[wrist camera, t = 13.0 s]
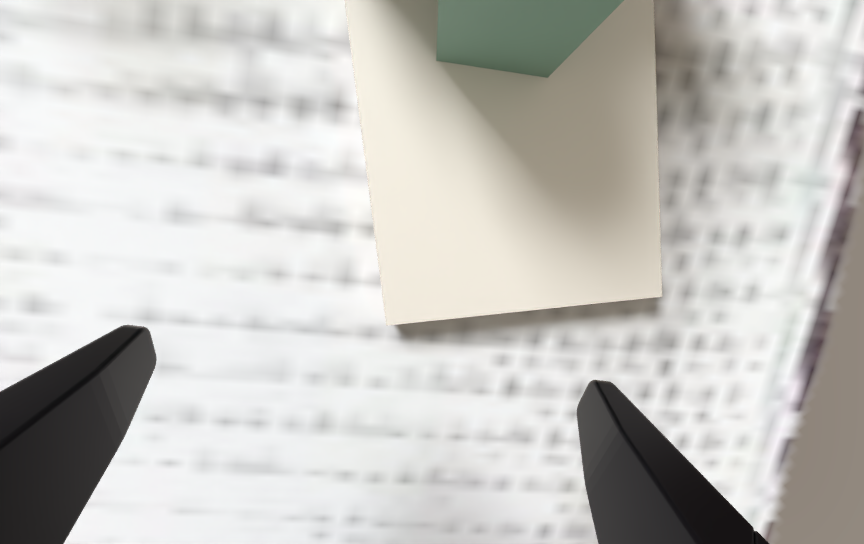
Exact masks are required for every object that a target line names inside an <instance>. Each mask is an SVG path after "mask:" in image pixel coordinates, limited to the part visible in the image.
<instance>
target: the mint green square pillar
mask: <svg viewBox="0 0 864 544" xmlns="http://www.w3.org/2000/svg"><path fill="white" fill-rule="evenodd" d="M623 1H624V0H438V24H437V56H436V61H441V62H448V63H454V64H461V65H467V66H474V67H480V68H487V69H493V70H500V71H506V72H513V73H519V74H526V75H532V76H539V77H545V78H548V77H549V76H550V75H551V74H552V73H553V72H554V71H555V70H556V69H557V68H558V67H559V66H560V65H561V64H562V63H563V62H564V61H565V60H566V59H567V58H568V57H569V56H570V55H571V54H572V53H573V52H574V51H575V50H576V49H577V48H578V47H579V46H580V44H581V43H582V42H583V41H584V40H585V39H586V38H587V37H588V36H589V35H590V34H591V33H592V32H593V31H594V30H595V29H596V28H597V27H598V26H599V25H600V24H601V23H602V22H603V21H604V20H605V19H606V18H607V17H608V16H609V15H610V14H611V13H612V12H613V11H614V10H615V9H616V8H617V7H618V6H619V5H620V4H621V3H622V2H623Z"/></svg>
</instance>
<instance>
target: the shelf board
mask: <svg viewBox="0 0 864 544" xmlns="http://www.w3.org/2000/svg"><path fill="white" fill-rule="evenodd" d="M345 8H346V16H347V23H348V31H349V39H350V47H351V54H352V62H353V70H354V78H355V86H356V93H357V101H358V109H359V117H360V124H361V132H362V140H363V148H364V155H365V163H366V171H367V179H368V186H369V194H370V202H371V210H372V217H373V225H374V233H375V241H376V249H377V256H378V264H379V272H380V280H381V287H382V295H383V303H384V311H385V318H386V326H388V325H398V324H407V323H417V322H426V321H436V320H445V319H455V318H464V317H474V316H483V315H493V314H502V313H512V312H521V311H531V310H540V309H550V308H559V307H569V306H578V305H588V304H597V303H607V302H616V301H626V300H635V299H645V298H654V297H662V274H661V238H660V202H659V167H658V131H657V95H656V60H655V24H654V0H624V1H623V2H622V3H621V4H620V5H619V6H618V7H617V8H616V9H615V10H614V11H613V12H612V13H611V14H610V15H609V16H608V17H607V18H606V19H605V20H604V21H603V22H602V23H601V24H600V25H599V26H598V27H597V28H596V29H595V30H594V31H593V32H592V33H591V34H590V35H589V36H588V37H587V38H586V39H585V40H584V41H583V42H582V43H581V44H580V46H579V47H578V48H577V49H576V50H575V51H574V52H573V53H572V54H571V55H570V56H569V57H568V58H567V59H566V60H565V61H564V62H563V63H562V64H561V65H560V66H559V67H558V68H557V69H556V70H555V71H554V72H553V73H552V74H551V75H550V76H549V77H548V78H545V77H539V76H532V75H526V74H519V73H513V72H506V71H500V70H493V69H487V68H480V67H474V66H467V65H461V64H454V63H448V62H441V61H436V56H437V24H438V0H345Z"/></svg>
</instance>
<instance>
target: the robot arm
mask: <svg viewBox="0 0 864 544" xmlns="http://www.w3.org/2000/svg"><path fill="white" fill-rule="evenodd" d="M155 365H156V353H155V349H154V345H153V342H152V338H151V334H150V331H149V330H148V329H147V328H146V327H142V326H133V325H124V326H121V327H119V328H117V329H115V330H113V331H111V332H110V333H108V334H106V335H104V336H102V337H100V338H98V339H97V340H95V341H93V342H91V343H89V344H87V345H86V346H84V347H82V348H80V349H78V350H76V351H74V352H73V353H71V354H69V355H67V356H65V357H63V358H62V359H60V360H58V361H56V362H54V363H52V364H50V365H49V366H47V367H45V368H43V369H41V370H39V371H38V372H36V373H34V374H32V375H30V376H28V377H26V378H25V379H23V380H21V381H19V382H17V383H15V384H14V385H12V386H10V387H8V388H6V389H4V390H2V391H1V392H0V544H63V543H64V542H65V540H66V538H67V537H68V535H69V533H70V531H71V530H72V528H73V526H74V524H75V523H76V521H77V519H78V517H79V516H80V514H81V512H82V510H83V509H84V507H85V505H86V504H87V502H88V500H89V498H90V497H91V495H92V493H93V491H94V490H95V488H96V486H97V484H98V483H99V481H100V479H101V477H102V476H103V474H104V472H105V471H106V469H107V467H108V465H109V464H110V462H111V460H112V458H113V457H114V455H115V453H116V451H117V450H118V448H119V446H120V444H121V442H122V440H123V439H124V436H125V434H126V432H127V430H128V428H129V426H130V424H131V421H132V419H133V417H134V414H135V412H136V410H137V408H138V405H139V403H140V401H141V398H142V396H143V394H144V392H145V389H146V387H147V385H148V382H149V380H150V378H151V376H152V373H153V371H154V369H155ZM577 420H578V429H579V437H580V446H581V454H582V463H583V471H584V479H585V485H586V490H587V495H588V500H589V504H590V508H591V513H592V517H593V522H594V526H595V530H596V535H597V539H598V543H599V544H769V543H768V542H767V541H766V540H765V539H764V538H763V537H762V536H761V535H760V534H759V533H758V532H757V531H754V529H753V527H752V526H751V525H750V524H749V523H748V522H747V521H746V520H745V518H744V517H743V516H742V515H741V514H740V513H739V512H738V511H737V510H736V509H735V508H734V507H733V506H732V505H731V504H730V503H729V502H728V501H727V500H726V499H725V498H724V497H723V496H722V495H721V494H720V493H719V492H718V491H717V490H716V489H715V488H714V487H713V486H712V485H711V484H710V483H709V481H708V480H707V479H706V478H705V477H704V476H703V475H702V474H701V473H700V472H699V471H698V470H697V469H696V468H695V467H694V466H693V465H692V464H691V463H690V462H689V461H688V460H687V459H686V458H685V457H684V456H683V455H682V454H681V453H680V452H679V451H678V450H677V449H676V448H675V447H674V445H673V444H672V443H671V442H670V441H669V440H668V439H667V438H666V437H665V436H664V435H663V434H662V433H661V432H660V431H659V430H658V429H657V428H656V427H655V426H654V425H653V424H652V423H651V422H650V421H649V420H648V419H647V418H646V417H645V416H644V415H643V414H642V413H641V412H640V411H639V410H638V408H637V407H636V406H635V405H634V404H633V403H632V402H631V401H630V400H629V399H628V398H627V397H626V396H625V395H624V394H623V393H622V392H621V391H620V390H619V389H618V388H617V387H616V386H615V385H614V384H613V383H611V382H608V381H600V380H592V381H591V382H590V383H589V384H588V386H587V388H586V390H585V392H584V394H583V396H582V398H581V400H580V402H579V404H578V407H577Z"/></svg>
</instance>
